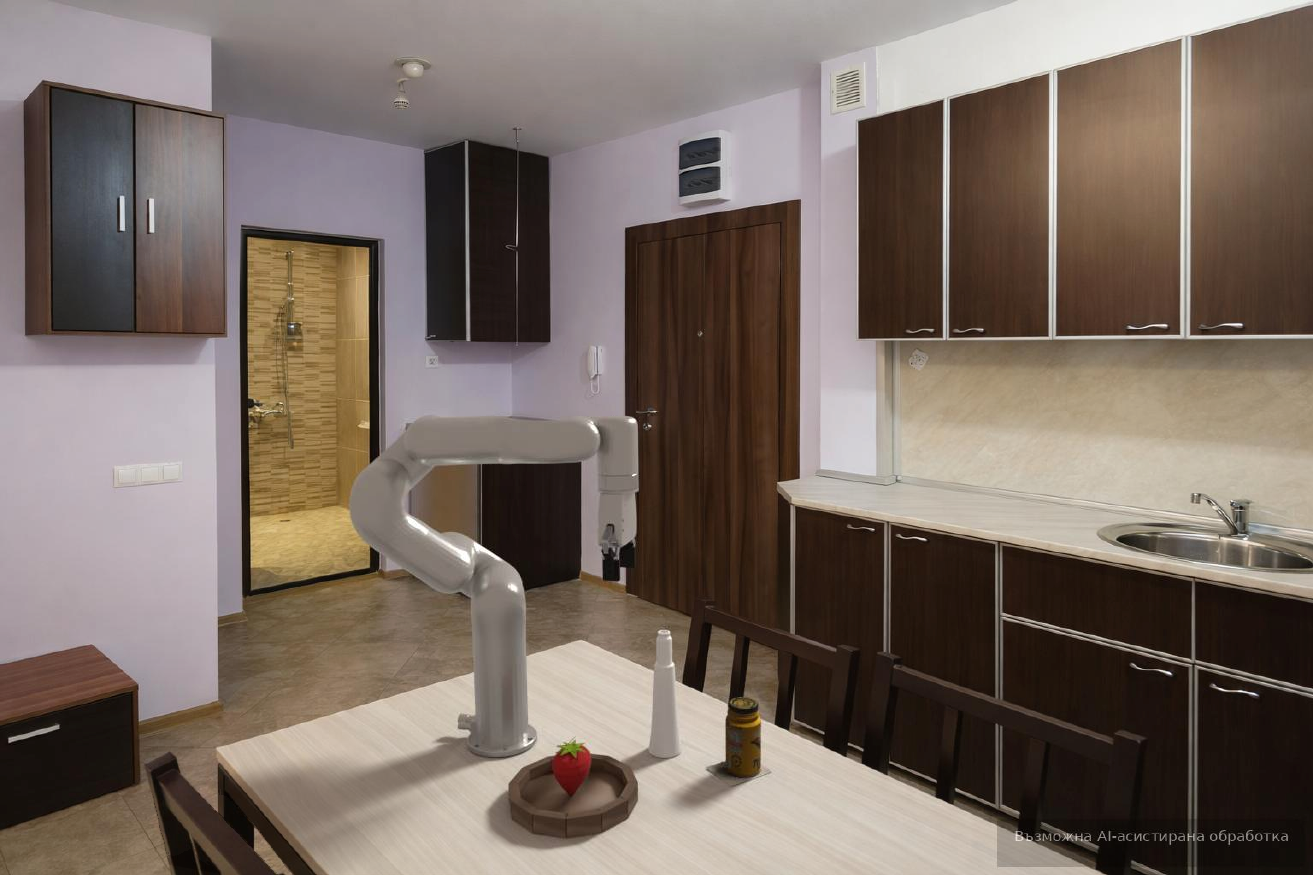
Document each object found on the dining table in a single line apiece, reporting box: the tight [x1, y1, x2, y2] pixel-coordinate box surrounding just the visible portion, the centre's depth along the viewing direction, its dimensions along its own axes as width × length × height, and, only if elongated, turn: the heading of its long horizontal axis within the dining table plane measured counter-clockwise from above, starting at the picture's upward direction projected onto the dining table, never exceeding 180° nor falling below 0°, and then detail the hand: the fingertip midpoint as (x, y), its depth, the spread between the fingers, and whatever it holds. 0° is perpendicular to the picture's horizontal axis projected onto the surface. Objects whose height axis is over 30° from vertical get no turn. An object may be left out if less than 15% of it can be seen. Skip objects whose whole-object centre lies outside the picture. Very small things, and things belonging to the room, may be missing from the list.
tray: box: [507, 752, 639, 839], centre depth 133 cm, size 20×20×3 cm
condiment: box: [706, 696, 772, 787], centre depth 142 cm, size 7×8×12 cm
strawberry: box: [552, 735, 592, 795], centre depth 133 cm, size 6×8×10 cm
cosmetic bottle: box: [647, 629, 683, 759], centre depth 149 cm, size 6×6×22 cm
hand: (619, 573), depth 155 cm, fingers open, 9 cm apart
